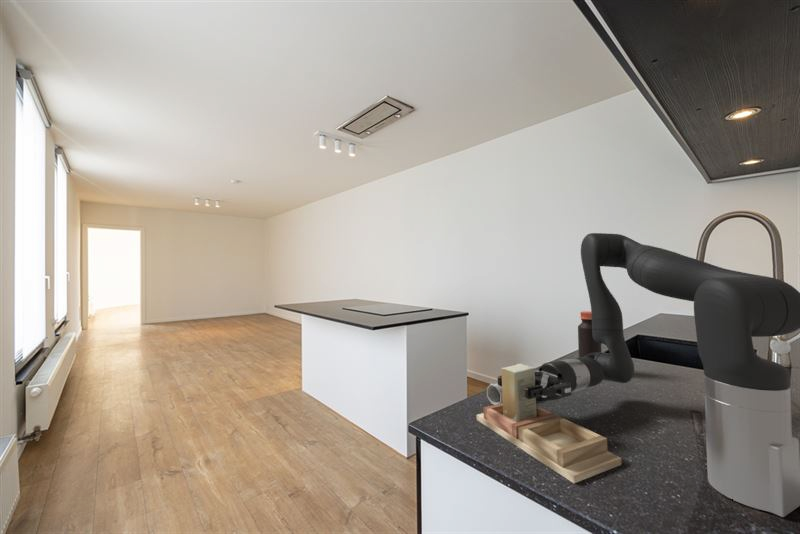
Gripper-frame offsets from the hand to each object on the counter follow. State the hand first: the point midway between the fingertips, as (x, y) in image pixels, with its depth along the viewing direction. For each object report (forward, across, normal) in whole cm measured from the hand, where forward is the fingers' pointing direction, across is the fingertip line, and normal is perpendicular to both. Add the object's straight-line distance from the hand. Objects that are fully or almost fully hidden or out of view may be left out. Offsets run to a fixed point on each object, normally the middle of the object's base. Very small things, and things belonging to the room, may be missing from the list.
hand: (511, 387), depth 73 cm
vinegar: (-53, -20, +10) cm, 58 cm away
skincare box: (-2, 0, +8) cm, 9 cm away
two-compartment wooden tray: (-2, +6, +9) cm, 11 cm away
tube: (-18, -12, +8) cm, 23 cm away
